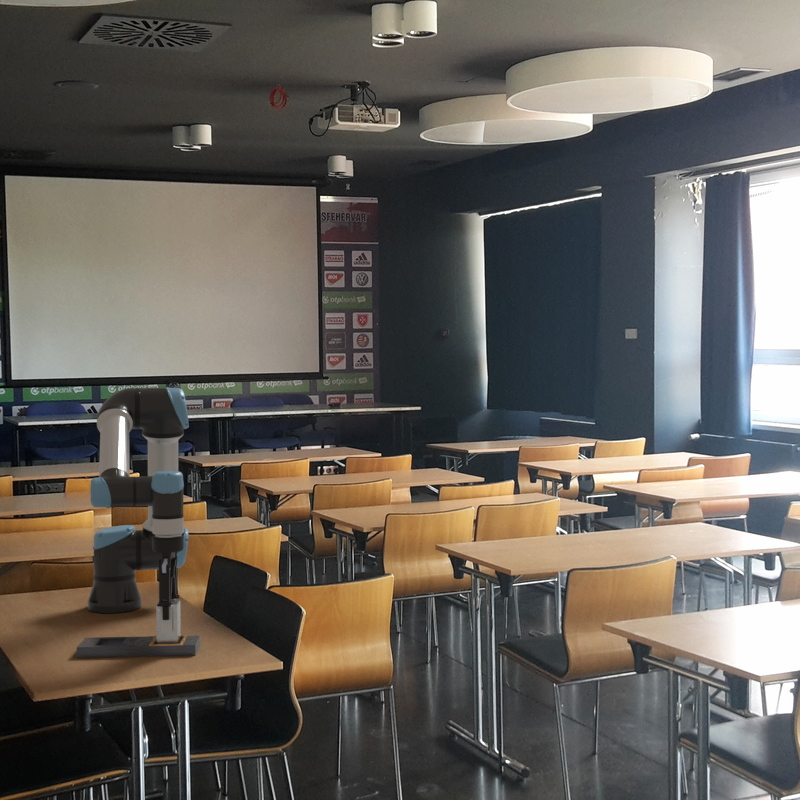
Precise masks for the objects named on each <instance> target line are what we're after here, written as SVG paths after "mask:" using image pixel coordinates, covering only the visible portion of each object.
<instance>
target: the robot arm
mask: <svg viewBox="0 0 800 800" xmlns="http://www.w3.org/2000/svg"><path fill="white" fill-rule="evenodd" d="M185 395H186V394H185V392H184V390H183V389H182V388H179V387H178V388H177V387H168V386H164V387H161V386H160V387H127V388H123V389H121V390H118V391H116V392H115V393H113V394H112V395H111V396H109V397H108V398H107V399H106V400H105V401H104V402H103V404H102V405H101V406H100V408H99V410H98V412H97V416H96V427H97V430H98V431H99V433H100V435H99V436H100V437H99V438H100V439H99V467H98V469H99V470H98V477H92V478H91V480H90V490H89V491H90V494H89V495H90V506H92V507H94V508H106V509H109V508H112V509H113V508H128V507H129V508H130V507H131V508H132V507H147V519H146V520H145V521H144V522H143V524H142V529H138V530H137V529H136V527H135V525H134V524H133V525H132V524H123V525H116V526H110V527H106V528H102V529H100V530H98V531H97V532H95V534H94V536H93V546H92V550H93V584H92V586H91V590H90V593H89V596H88V599H87V610H88V611H89V612H92V613H101V614H105V613H106V614H115V613H125V611H126V612H131V611H135V610H137V609H140V608H141V607H143V606H142V605H143V603H142V602H143V601H142V595H141V592H140V590H139V587H138V584H137V581H136V571H152V570H153V571H154V570H158V575H159V576H158V602H159V604H158V603H157V604H156V605H157V607H160V612H161V633H172V603H171V600H180V594H179V591H178V569H179V568H182V567H183V566H184V565H185V563H186V558H187V553H188V546H189V529H188V528H186V527H185V517H184V487H185V484H184V483H185V482H184V475H183V473H182V472H181V471H179V440H180V439H181V438H182V437H183V436H184V435H185V434H184V433H185V432H184V431H185V430H187V429H189V427H190V425H189V424H190V423H189V416H188V415H189V414H188V407H187V402H186V396H185ZM132 430H142V431H141V435H142V437H144V439H146V440H147V475H146V476H145V475H144V476H143V475H142V476H130V471H131V470H130V432H131V431H132Z"/></svg>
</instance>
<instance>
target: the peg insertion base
mask: <svg viewBox="0 0 800 800" xmlns="http://www.w3.org/2000/svg"><path fill="white" fill-rule="evenodd" d="M200 647H201V635H200V634H199V635H188V634H181V643H180V644H157V634H156V635H152V636H104V637H103V636H101V637H100V636H99V637H96V636H95V637H92V636H91V637H85V638H84V639H83V640H82V641H81V642H80V643H79V644H78V645H77V646H76V659H77V658H78V659H80V658H81V659H82V658H84V659H85V658H87V659H89V658H128V657H131V658H133V657H177V656H178V657H179V656H180V657H181V656H196V655H197V653H198V651H199V648H200Z"/></svg>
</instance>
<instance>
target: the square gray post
mask: <svg viewBox="0 0 800 800" xmlns="http://www.w3.org/2000/svg"><path fill="white" fill-rule="evenodd" d="M171 603H172V633H161V612H160V607H157V604H159V601H158V602H157V604H155V605H156V607H155V608H156V615H155V616H156V635H157V644H180V643H181V635H182V634H181V632H182V631H181V629H182V628H181V599H176V600H171Z"/></svg>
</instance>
